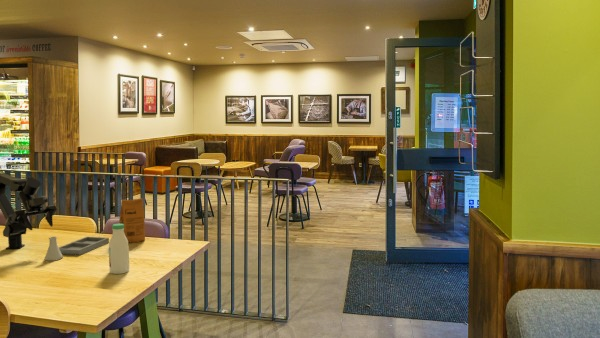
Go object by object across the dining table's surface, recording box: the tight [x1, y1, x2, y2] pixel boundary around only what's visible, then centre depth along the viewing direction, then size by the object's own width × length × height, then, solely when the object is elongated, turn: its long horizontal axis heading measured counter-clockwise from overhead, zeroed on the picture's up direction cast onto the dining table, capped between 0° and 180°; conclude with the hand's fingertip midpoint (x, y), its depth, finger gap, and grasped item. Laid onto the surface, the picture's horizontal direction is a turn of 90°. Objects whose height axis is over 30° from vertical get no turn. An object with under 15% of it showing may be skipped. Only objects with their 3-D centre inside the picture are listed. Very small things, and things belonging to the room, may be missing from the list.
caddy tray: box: [58, 236, 110, 256], centre depth 235 cm, size 12×24×2 cm, turn 169°
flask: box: [44, 236, 64, 262], centre depth 217 cm, size 7×7×10 cm
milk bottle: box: [108, 223, 130, 275], centre depth 199 cm, size 8×8×20 cm
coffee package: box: [118, 197, 146, 244], centre depth 249 cm, size 10×12×22 cm
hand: (42, 227), depth 220 cm, fingers open, 9 cm apart
